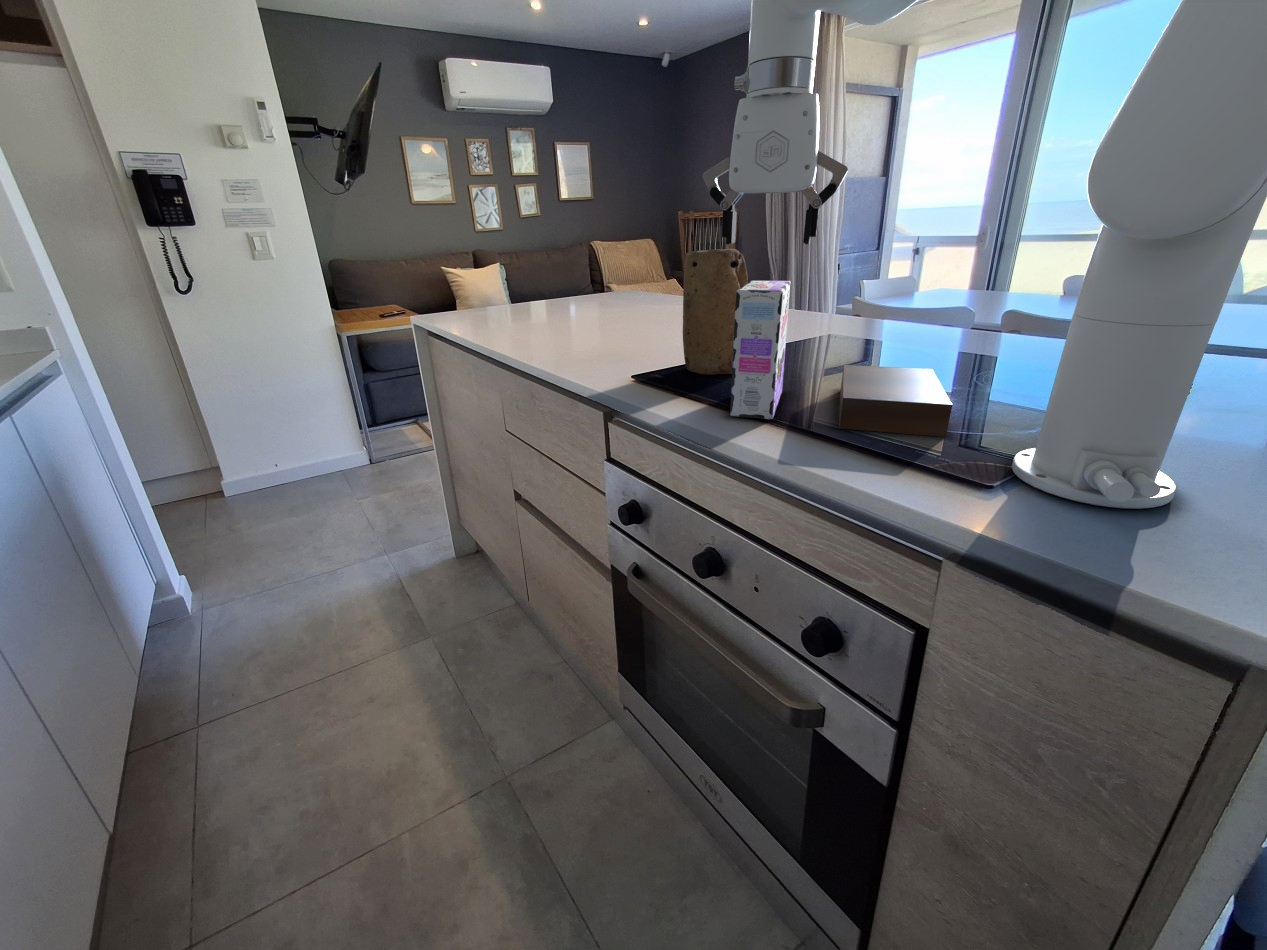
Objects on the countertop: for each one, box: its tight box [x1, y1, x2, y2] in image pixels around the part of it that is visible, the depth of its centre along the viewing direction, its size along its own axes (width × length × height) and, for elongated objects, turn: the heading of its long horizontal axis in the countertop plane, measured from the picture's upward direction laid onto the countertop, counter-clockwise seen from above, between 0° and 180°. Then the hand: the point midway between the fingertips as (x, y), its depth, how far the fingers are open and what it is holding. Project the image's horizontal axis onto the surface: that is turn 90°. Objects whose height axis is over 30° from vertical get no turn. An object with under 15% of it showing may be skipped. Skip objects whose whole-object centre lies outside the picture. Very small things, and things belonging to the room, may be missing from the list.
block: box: [682, 248, 749, 376], centre depth 96 cm, size 11×8×20 cm
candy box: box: [729, 280, 791, 420], centre depth 78 cm, size 14×6×16 cm, turn 161°
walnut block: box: [838, 364, 953, 438], centre depth 76 cm, size 18×12×4 cm, turn 161°
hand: (767, 243), depth 73 cm, fingers open, 9 cm apart
